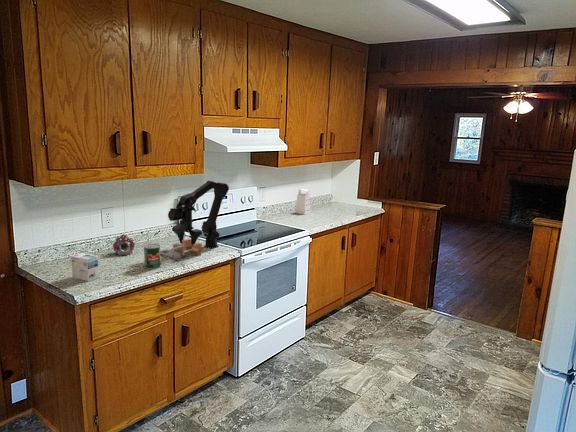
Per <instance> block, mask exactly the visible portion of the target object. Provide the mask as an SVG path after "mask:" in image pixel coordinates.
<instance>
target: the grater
mask: <svg viewBox="0 0 576 432" xmlns="http://www.w3.org/2000/svg"><path fill="white" fill-rule="evenodd" d="M302 190H303V191H305V193H302ZM295 201H296V202H295V205H294V206H295V207H294V214H298V215H299V214H300V215H307V214H311V212H312V211H311V199H310V194H309V190H308V189H305V188H301V189H299V190H298V194H297V195H296V200H295Z"/></svg>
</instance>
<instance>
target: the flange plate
mask: <svg viewBox="0 0 576 432" xmlns="http://www.w3.org/2000/svg"><path fill="white" fill-rule="evenodd" d="M160 257H165V258H168V259H170V260H174V261H178V262H183V261H185V260H190V259H192V256H191V255H190V254H185V256H183V252H182V253H181V252H179V251H176V250H174V253H173V251H172V250H171V249H167V248H166V249H163V250H160Z"/></svg>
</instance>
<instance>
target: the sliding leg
mask: <svg viewBox="0 0 576 432" xmlns="http://www.w3.org/2000/svg"><path fill="white" fill-rule="evenodd" d="M181 247H182V253H183V251H184V250H186V248H187V247H192V245H191V238H185V239H183V240H182V246H178V247H174V248H173V247H172V248H171V249H172V251H173V253H174V251H175V250H174V249H177V248H181ZM185 254H187V253H186V252H185Z"/></svg>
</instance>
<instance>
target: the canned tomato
mask: <svg viewBox="0 0 576 432" xmlns="http://www.w3.org/2000/svg"><path fill="white" fill-rule="evenodd" d="M160 251H161V245H160V244H157V243H149V244H145V245H143V253H144V254H143V257H144V260H143V261H144V268H145V269H146V270H157V269H159V268H161V267H162V266H161V263H162V262H161V255H160Z"/></svg>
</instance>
